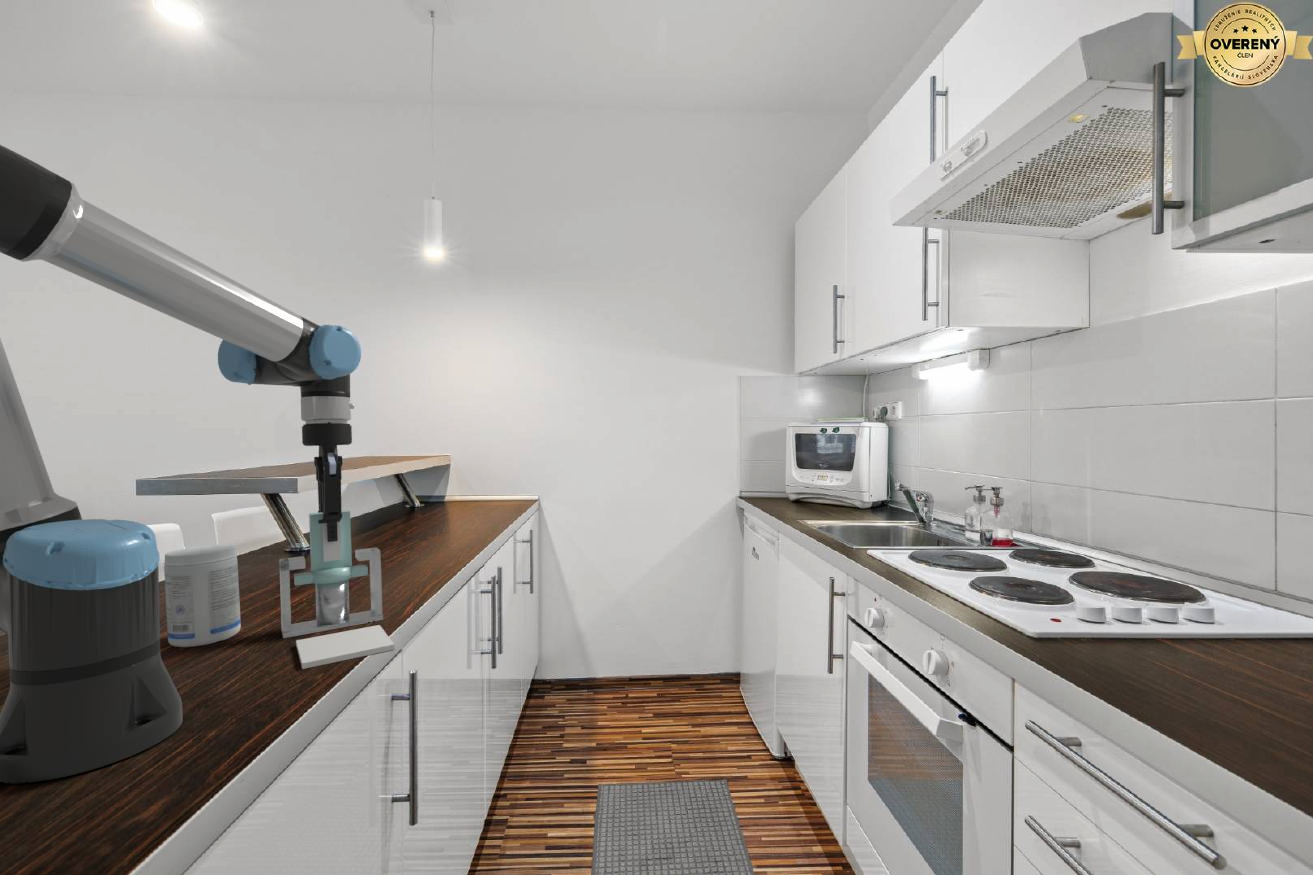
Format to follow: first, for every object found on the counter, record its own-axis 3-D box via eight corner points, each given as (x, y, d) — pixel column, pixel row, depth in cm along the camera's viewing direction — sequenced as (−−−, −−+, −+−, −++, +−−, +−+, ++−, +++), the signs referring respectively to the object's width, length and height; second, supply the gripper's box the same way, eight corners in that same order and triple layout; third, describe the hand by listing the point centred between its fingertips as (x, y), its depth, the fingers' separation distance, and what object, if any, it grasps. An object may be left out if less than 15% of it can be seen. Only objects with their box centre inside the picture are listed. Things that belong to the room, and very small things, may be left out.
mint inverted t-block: (296, 587, 98) (293, 517, 97) (293, 580, 103) (291, 513, 103) (369, 577, 104) (367, 510, 104) (363, 570, 109) (361, 507, 109)
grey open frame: (283, 638, 97) (280, 563, 97) (281, 630, 101) (279, 558, 101) (383, 619, 106) (380, 550, 105) (377, 613, 110) (375, 546, 110)
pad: (302, 669, 83) (302, 663, 83) (296, 645, 93) (296, 640, 93) (394, 649, 90) (394, 644, 90) (379, 629, 100) (379, 624, 100)
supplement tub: (238, 625, 105) (235, 541, 105) (243, 638, 97) (240, 548, 97) (166, 638, 99) (163, 549, 99) (166, 653, 91) (163, 557, 91)
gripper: (358, 420, 99) (362, 562, 99) (345, 423, 112) (349, 549, 112) (305, 421, 95) (310, 569, 95) (298, 424, 107) (302, 555, 108)
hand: (331, 558), depth 103 cm, fingers closed on mint inverted t-block, 2 cm apart
